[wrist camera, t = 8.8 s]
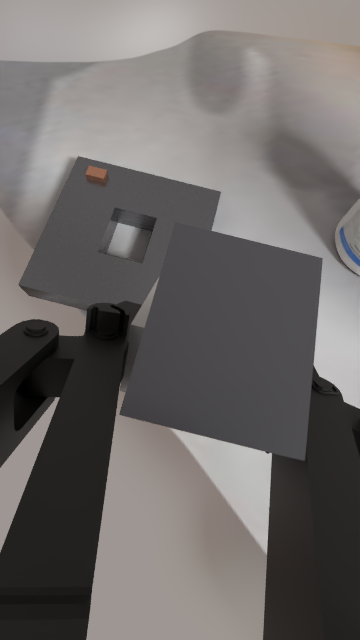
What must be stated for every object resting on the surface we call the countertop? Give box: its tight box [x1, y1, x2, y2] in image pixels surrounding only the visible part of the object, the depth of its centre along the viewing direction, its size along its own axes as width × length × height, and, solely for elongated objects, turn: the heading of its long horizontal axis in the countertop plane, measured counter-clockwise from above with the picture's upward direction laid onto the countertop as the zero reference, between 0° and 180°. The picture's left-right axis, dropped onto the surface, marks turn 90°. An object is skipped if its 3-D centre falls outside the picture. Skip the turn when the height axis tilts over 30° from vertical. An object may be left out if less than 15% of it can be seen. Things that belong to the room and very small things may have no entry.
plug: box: [120, 222, 323, 461], centre depth 12 cm, size 4×5×11 cm
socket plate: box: [19, 156, 221, 310], centre depth 31 cm, size 16×16×3 cm
